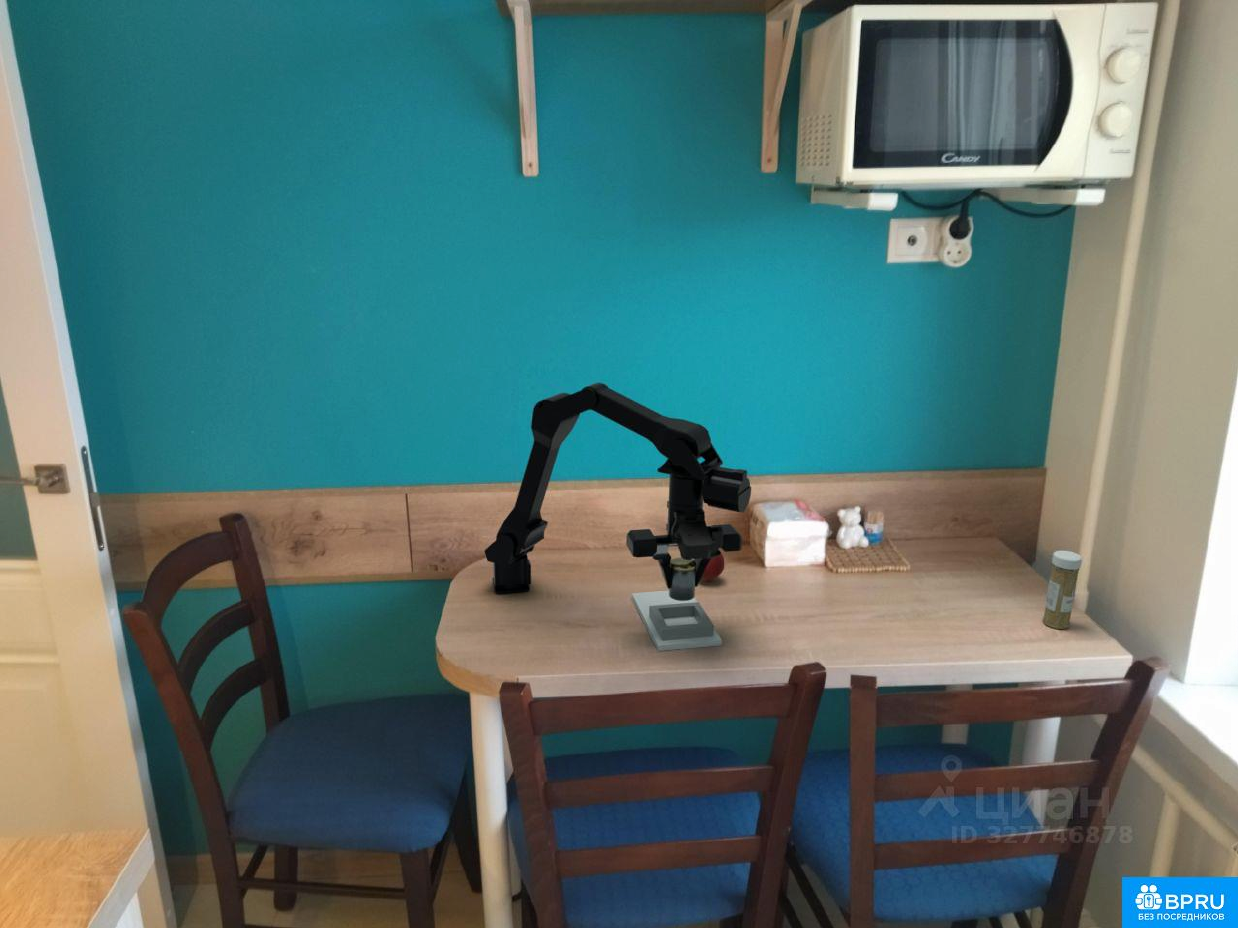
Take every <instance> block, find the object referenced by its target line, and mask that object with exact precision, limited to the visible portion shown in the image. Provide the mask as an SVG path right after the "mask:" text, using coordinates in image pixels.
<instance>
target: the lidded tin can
mask: <svg viewBox="0 0 1238 928" xmlns="http://www.w3.org/2000/svg"><path fill="white" fill-rule="evenodd" d="M670 571H671V587H670V589H668V591H669V597H670V598H672V599H674V600H678V601H688V600H691V599H693V598H695V593H696V587H695V577H696V562H695V561H694V559H691V560H685V559H683V558H682V557H676V558H673V559H672V558H671V561H670Z"/></svg>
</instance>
